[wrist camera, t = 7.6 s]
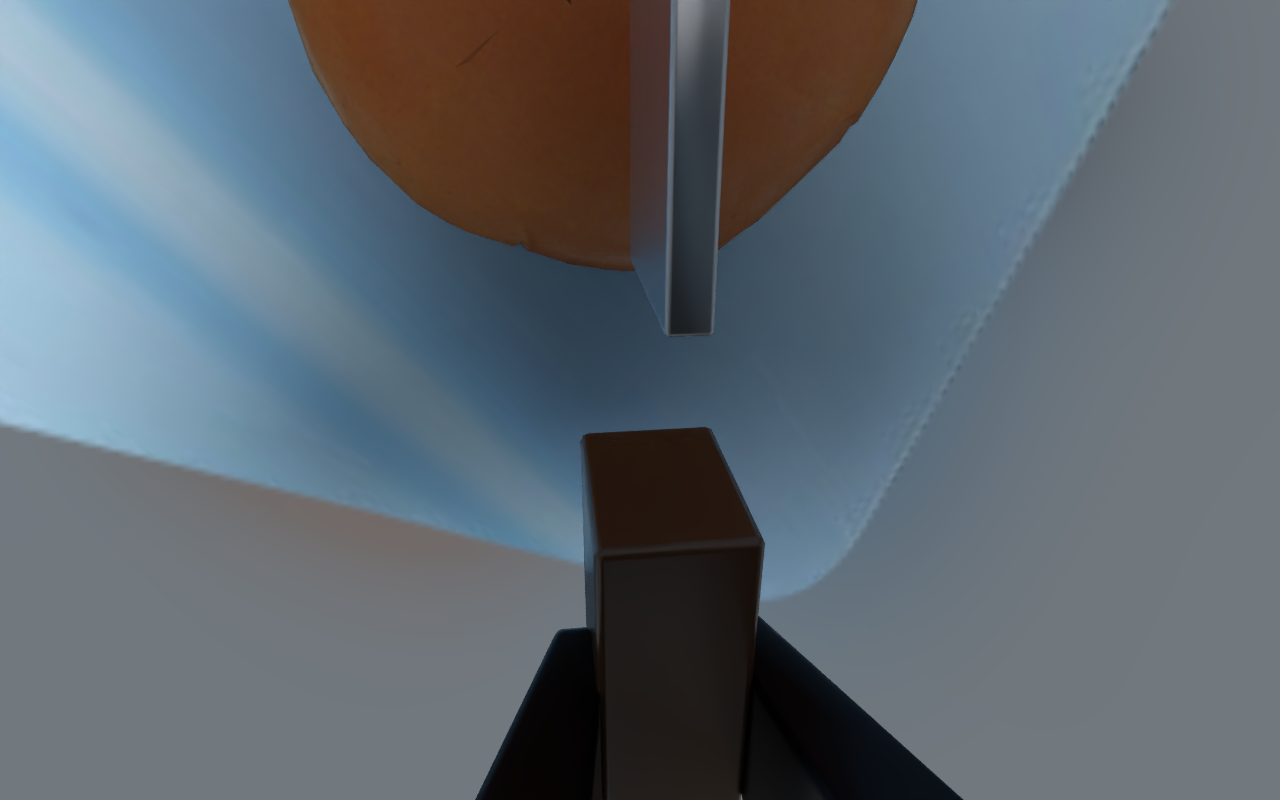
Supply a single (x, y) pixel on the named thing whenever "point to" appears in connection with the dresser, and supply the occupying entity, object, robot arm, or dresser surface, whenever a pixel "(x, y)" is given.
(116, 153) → the dresser surface
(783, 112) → the burger
